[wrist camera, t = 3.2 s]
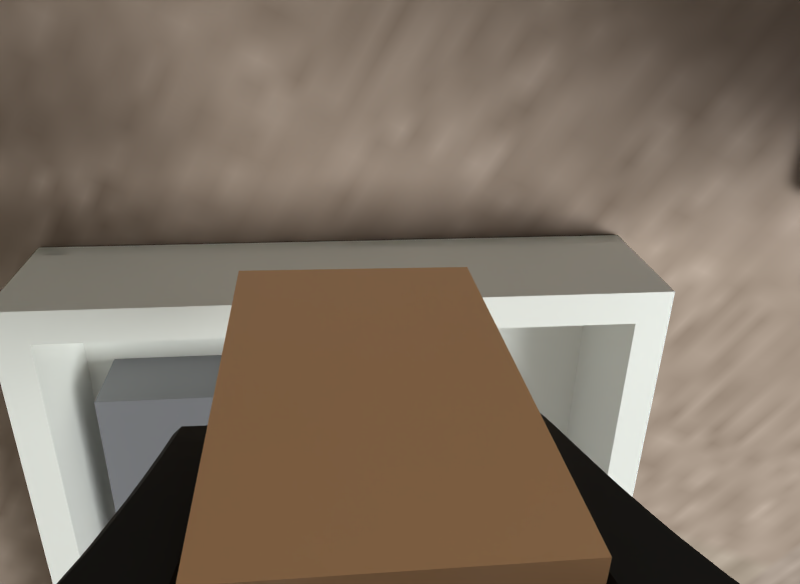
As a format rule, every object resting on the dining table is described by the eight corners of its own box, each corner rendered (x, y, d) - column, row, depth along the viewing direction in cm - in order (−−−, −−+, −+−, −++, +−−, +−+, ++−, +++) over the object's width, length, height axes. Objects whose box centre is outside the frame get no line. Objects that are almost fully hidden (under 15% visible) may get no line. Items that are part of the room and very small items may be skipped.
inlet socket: (451, 346, 20) (465, 386, 18) (437, 581, 24) (447, 633, 22) (114, 359, 19) (93, 402, 17) (157, 602, 23) (144, 657, 21)
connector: (467, 267, 11) (701, 735, 5) (452, 448, 13) (613, 1000, 6) (238, 270, 11) (134, 789, 4) (251, 457, 12) (188, 1060, 6)
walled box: (617, 235, 20) (675, 292, 17) (554, 621, 26) (587, 714, 23) (38, 247, 18) (-19, 312, 15) (125, 655, 25) (98, 760, 22)
